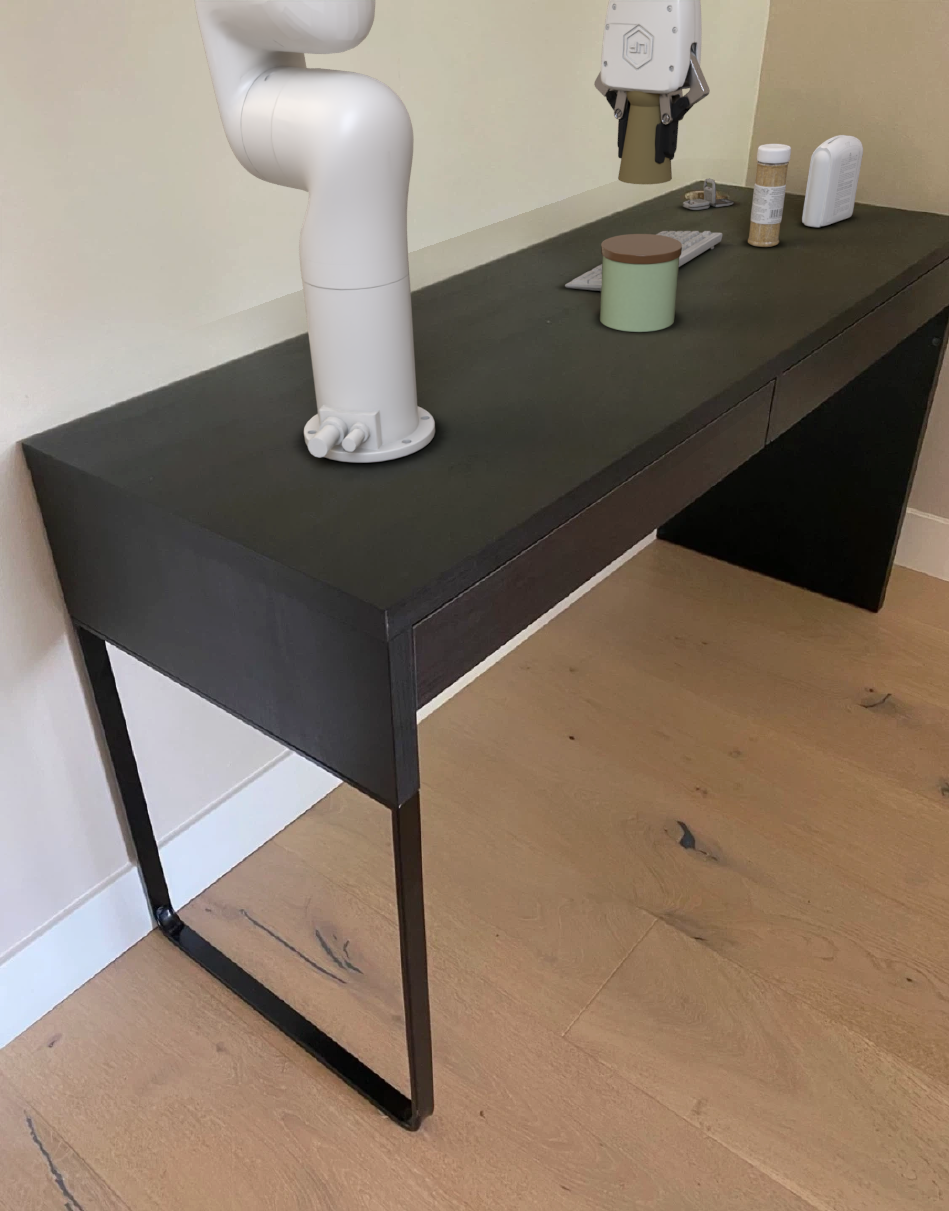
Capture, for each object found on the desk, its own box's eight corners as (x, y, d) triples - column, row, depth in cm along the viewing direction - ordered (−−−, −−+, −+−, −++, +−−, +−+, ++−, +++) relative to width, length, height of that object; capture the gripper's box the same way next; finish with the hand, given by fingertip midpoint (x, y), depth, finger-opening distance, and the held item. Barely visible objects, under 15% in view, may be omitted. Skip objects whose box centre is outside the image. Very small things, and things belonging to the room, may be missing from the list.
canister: (670, 335, 122) (677, 257, 117) (591, 329, 124) (594, 252, 119) (680, 309, 129) (686, 235, 124) (605, 305, 132) (608, 231, 127)
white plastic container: (831, 212, 167) (844, 129, 160) (856, 217, 164) (870, 132, 157) (796, 225, 161) (809, 139, 154) (821, 230, 158) (835, 142, 152)
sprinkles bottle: (770, 238, 155) (782, 141, 148) (784, 246, 151) (797, 147, 144) (741, 241, 154) (752, 143, 147) (755, 249, 151) (767, 149, 143)
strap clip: (690, 211, 170) (693, 183, 168) (680, 207, 173) (683, 180, 170) (734, 204, 173) (737, 177, 171) (724, 201, 175) (727, 174, 173)
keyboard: (657, 236, 158) (658, 222, 157) (722, 245, 153) (723, 231, 152) (564, 288, 138) (564, 272, 137) (634, 299, 133) (635, 284, 132)
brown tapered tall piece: (670, 184, 115) (678, 73, 108) (615, 183, 116) (620, 73, 109) (673, 172, 119) (681, 65, 113) (620, 172, 120) (625, 66, 114)
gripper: (569, -32, 108) (565, 156, 119) (710, -30, 99) (693, 173, 109) (610, -36, 113) (603, 145, 123) (749, -35, 104) (729, 161, 114)
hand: (646, 156), depth 116 cm, fingers closed on brown tapered tall piece, 4 cm apart
